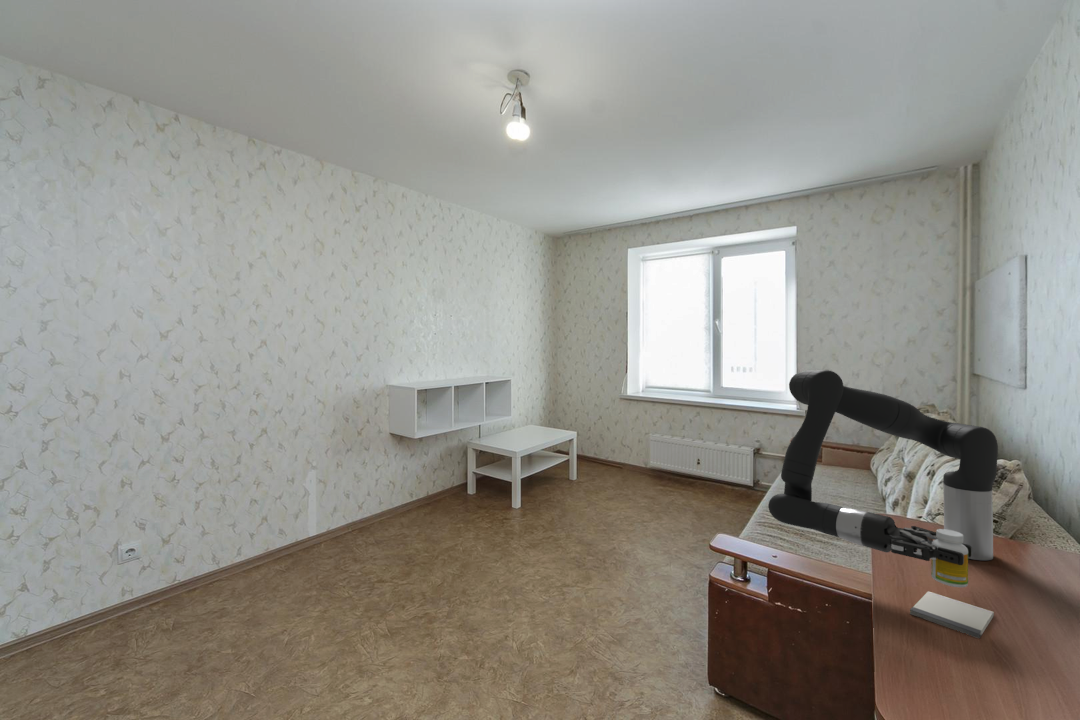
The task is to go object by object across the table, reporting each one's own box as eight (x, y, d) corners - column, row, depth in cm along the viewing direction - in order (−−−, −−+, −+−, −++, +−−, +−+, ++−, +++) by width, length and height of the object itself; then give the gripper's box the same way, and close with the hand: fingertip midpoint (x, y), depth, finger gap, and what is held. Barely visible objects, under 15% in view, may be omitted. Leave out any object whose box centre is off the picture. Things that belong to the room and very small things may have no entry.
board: (928, 594, 97) (928, 590, 97) (993, 615, 89) (993, 611, 89) (910, 614, 90) (910, 609, 90) (979, 638, 82) (979, 633, 82)
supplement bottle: (975, 589, 86) (975, 538, 86) (942, 586, 87) (943, 536, 87) (955, 576, 92) (956, 528, 91) (925, 573, 93) (925, 526, 93)
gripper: (852, 518, 97) (958, 545, 83) (877, 505, 105) (976, 528, 91) (852, 553, 97) (957, 586, 83) (876, 537, 105) (976, 564, 92)
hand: (967, 555), depth 87 cm, fingers closed on supplement bottle, 5 cm apart
